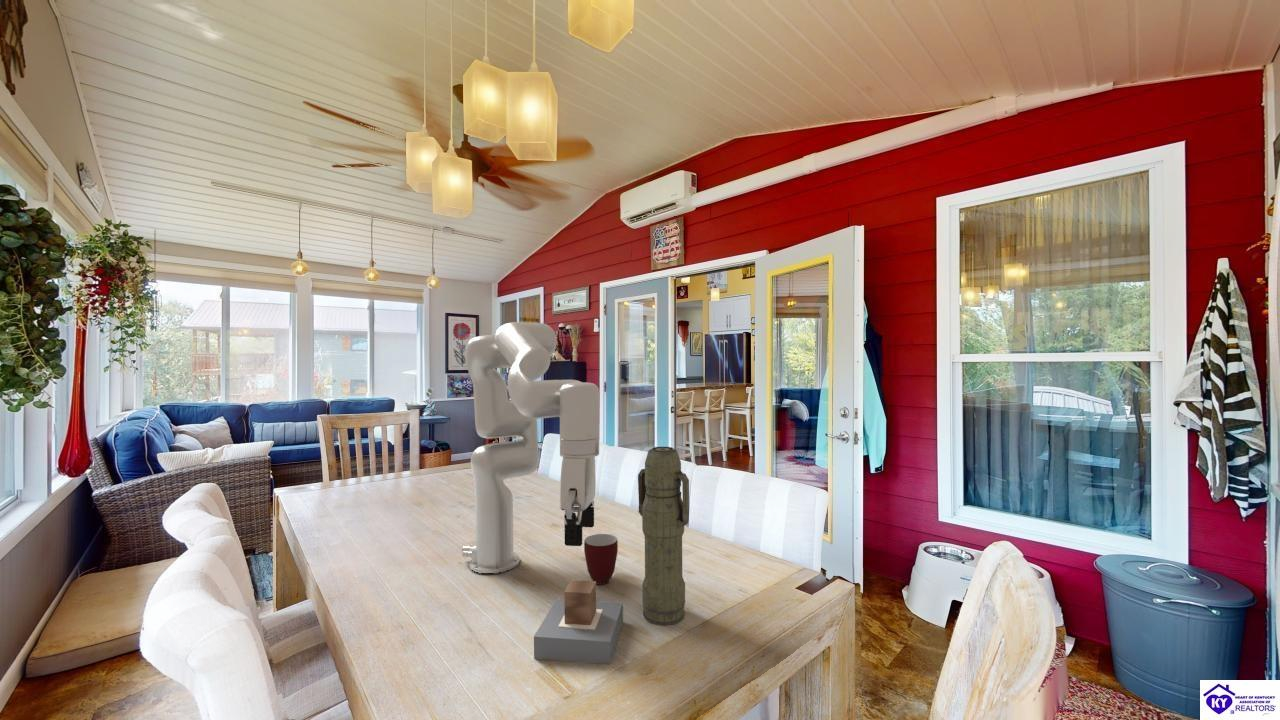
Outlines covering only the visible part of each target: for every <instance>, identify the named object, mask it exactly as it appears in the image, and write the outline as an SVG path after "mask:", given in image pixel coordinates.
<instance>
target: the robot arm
mask: <svg viewBox="0 0 1280 720" xmlns="http://www.w3.org/2000/svg"><path fill="white" fill-rule="evenodd" d="M557 339H558V338H557V335H556V332H555V330H554V329H553V328H552V327H551V326H550V325H549V324H546V323H544V322H542V323H541V322H524V321H523V322H522V321H519V322H518V321H512V322H508V323H504V324H503V325H500V326H499V327H498V329H497V330H496V332H495V334H488V335H486V334H485V335H478V336H475V337H473V338H471V339H470V340H469V341H468V342H467V345H466V348H465V364H466V368H467V371H468V374H469V377H470V380H471V383H472V388H473V405H474V407H473V409H474V423H475V430H476V433H477V435H478V436H479V437H480V438H483V439H498V438H508V437H509V438H511V437H515V438H516V440H514V441H503V442H495V443H488V444H484V445H480V446H478V447H477V448H475V449H474V450H473V452H472V454H471V456H470V468H471V473H472V478H473V485H474V505H475V506H474V509H475V510H474V518H475V521H474V522H475V545H474V546H471V545H469V546H468V545H464V546H462V549H461V553H462V557H463V558H464V557H465V558H467V557H469V558H471V559H470V561H469V569H470V570H471V571H472V570H473V571H472V572H474V571H475V572H474V573H476V572H478V573H477V574H481V573H494V574H500V573H499V572H501V573H504V572H507V570H508V571H510V570H512V569H514V568H516V567H517V566H518V565H519V563H520V561H521V560H520V559H521V558H520V555H519V554H518V553H517V552H515V551H514V498H513V497H514V496H513V494H512V491H511V489H510V488H509V487H508V486H507V485H506V484H505V482H504V480H507V479H512V478H519V477H524V476H525V477H526V476H529V475H532V474H533V473H535V472H536V471H537V470H538V467H539V457H540V456H539V437H538V436H539V435H538V420H540V419H549V418H550V419H551V418H559V456H560V457H561V458H562V461H561V468H560V469H561V470H560V483H559V484H560V486H559V488H560V489H559V509H560V510H561V511H564V515H563V517H564V522H563V523H564V545H565V546H569V547H581V546H582V545H583V528H593V527H594V526H595V506H594V505H595V501H594V499H595V497H596V486H597V484H596V458H595V457H598V456H600V391H599V390H600V389H599V387H598V385H596V383H593V382H584V381H583V382H582V381H580V380H576V379H548V380H547V379H546V380H545V379H544V380H538V379H540V378H542V376H544V375H545V373H546V372H547V371H548V370H549V367H550V365H551V356H552V355H553V354H554V353H555V350H556V349H557V342H558V340H557ZM497 369H509V371H508V375H507V381H506V380H505V378H504V377H503V376H502V374H501V373H500V372H499V371H498V370H497ZM508 395H509V397H508ZM509 398H510V400H509ZM576 513H577V514H576Z"/></svg>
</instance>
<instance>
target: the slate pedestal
mask: <svg viewBox="0 0 1280 720" xmlns="http://www.w3.org/2000/svg"><path fill="white" fill-rule="evenodd" d="M623 625H624V602H617V601H599V600H596V614H595V616H594V618H593V621H592V623H591V625H579V624H565V607H564V598H556V599H555V601H554V603H553V604H552V606H551V607H550V609H549V610H548V612H547V614H546V615H545V617H544V619H543V620H542V622H541V624H540V626H539V627H538V628H537V630H536V632H535V633H534V636H533V659H534V658H536V659H537V660H546V659H550V661H560V662H561V661H562V662H564V661H565V662H577V663H589V664H600V665H601V664H603V665H604V664H605V665H610V664H612V659H613V656H614V653H615V651H616V646H617V644H618V640H619V637H620V634H621V630H622V627H623ZM539 658H541V659H539ZM536 659H535V660H536ZM551 659H552V660H551Z"/></svg>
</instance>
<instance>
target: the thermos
mask: <svg viewBox="0 0 1280 720" xmlns="http://www.w3.org/2000/svg"><path fill="white" fill-rule="evenodd" d="M679 455H680V454H679V453H678V450H677V449H675V448H674V447H671V446H655V447H654V446H653V447H652V448H650V449H648V451H647V455H646V457H645V460H644V468H642V469H640V471H639V472H638V474H637V488H638V514H640V516H641V523H642V525H641V527H642V533H643V536H644V578H643V581H642V585H641V586H642V587H641V588H642V605H643V613H642V614H643V617H644V619H645V620H646V622H649V623H651V624H653V625H656V626H672V625H676V624H679V623H680V622H682V621H683V620H684V619H685V604H686V582H685V580H684V576H683V536H684V532H685V526H687V525H688V524H689V521H690V520H689V518H690V480H689V477H688V476H687V474H686V473H684V472H683V471H682V461H681V458H680V456H679ZM681 487H682V492H681Z"/></svg>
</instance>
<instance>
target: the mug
mask: <svg viewBox="0 0 1280 720" xmlns="http://www.w3.org/2000/svg"><path fill="white" fill-rule="evenodd" d="M618 544H619V543H618V538H617V537H616V536H615V535H613V534H607V533H596V534H592V535H589V536H586V538H584V540H583V545H584V546H583V550H584V556H585V563H586V569H587V573H588V575H589V577H590V579H591V581H596V585H605V584H607V583H609V582H610V581H611V579H612V577H613V575H614V572H615V569H616V562H617V558H618V551H619V549H618V547H619V546H618Z"/></svg>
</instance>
